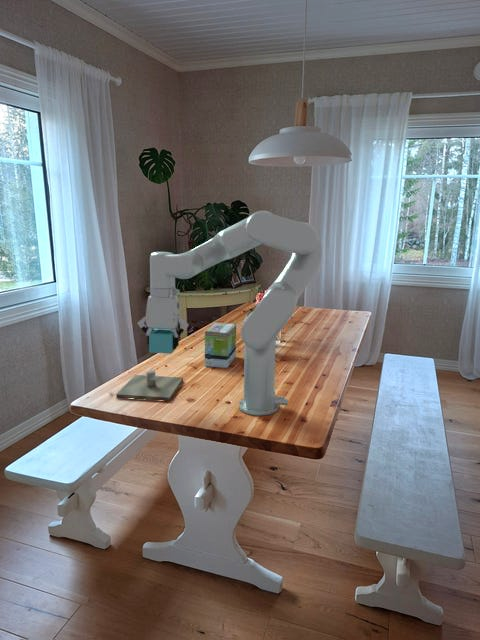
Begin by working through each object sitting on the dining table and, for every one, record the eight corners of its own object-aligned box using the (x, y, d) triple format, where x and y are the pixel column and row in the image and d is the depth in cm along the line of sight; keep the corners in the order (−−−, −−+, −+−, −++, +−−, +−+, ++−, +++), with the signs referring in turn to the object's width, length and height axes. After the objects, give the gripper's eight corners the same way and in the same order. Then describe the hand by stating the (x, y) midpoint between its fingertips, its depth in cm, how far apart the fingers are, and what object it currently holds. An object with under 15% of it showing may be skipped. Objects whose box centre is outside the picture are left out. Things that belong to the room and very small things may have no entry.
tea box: (228, 368, 177) (228, 332, 174) (203, 366, 179) (203, 330, 176) (236, 356, 191) (236, 323, 188) (213, 355, 193) (213, 321, 190)
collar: (176, 347, 146) (176, 329, 144) (171, 353, 139) (171, 335, 137) (155, 345, 146) (155, 328, 145) (149, 352, 139) (149, 333, 138)
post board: (183, 381, 163) (182, 364, 162) (169, 401, 146) (169, 383, 144) (135, 378, 165) (134, 361, 164) (116, 398, 148) (115, 380, 146)
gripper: (192, 291, 141) (192, 345, 145) (138, 289, 142) (139, 342, 147) (188, 296, 134) (187, 352, 138) (131, 293, 135) (132, 349, 139)
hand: (163, 347), depth 142 cm, fingers closed on collar, 7 cm apart
